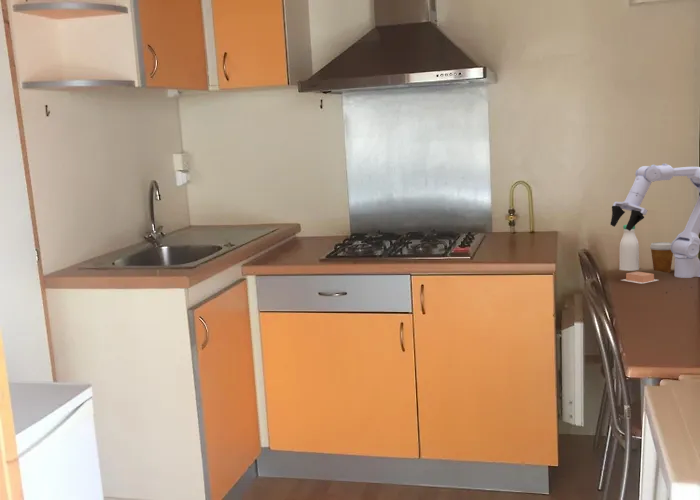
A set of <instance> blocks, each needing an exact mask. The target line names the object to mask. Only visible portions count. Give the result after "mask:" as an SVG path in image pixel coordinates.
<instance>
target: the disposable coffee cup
mask: <svg viewBox="0 0 700 500" xmlns="http://www.w3.org/2000/svg"><path fill="white" fill-rule="evenodd" d="M671 243H672V242H667V241H661V242H660V241H659V242H651V244H650V245H649V248H650V251H651V259H652V260H651V261H652V267H653V271H656V272H662V273H667V274H668V273H669V274H671V271H672V264H673V263H672V261H673V257H674V254H673V253H672V251H671V248H670V246H671Z"/></svg>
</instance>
